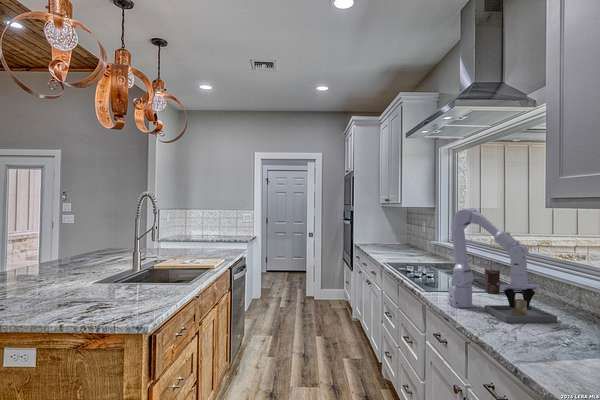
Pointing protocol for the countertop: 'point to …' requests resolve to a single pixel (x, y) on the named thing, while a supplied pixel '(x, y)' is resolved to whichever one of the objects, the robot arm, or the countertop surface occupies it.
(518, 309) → the maple block
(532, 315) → the tray
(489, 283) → the box
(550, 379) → the countertop surface
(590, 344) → the countertop surface
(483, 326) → the countertop surface
